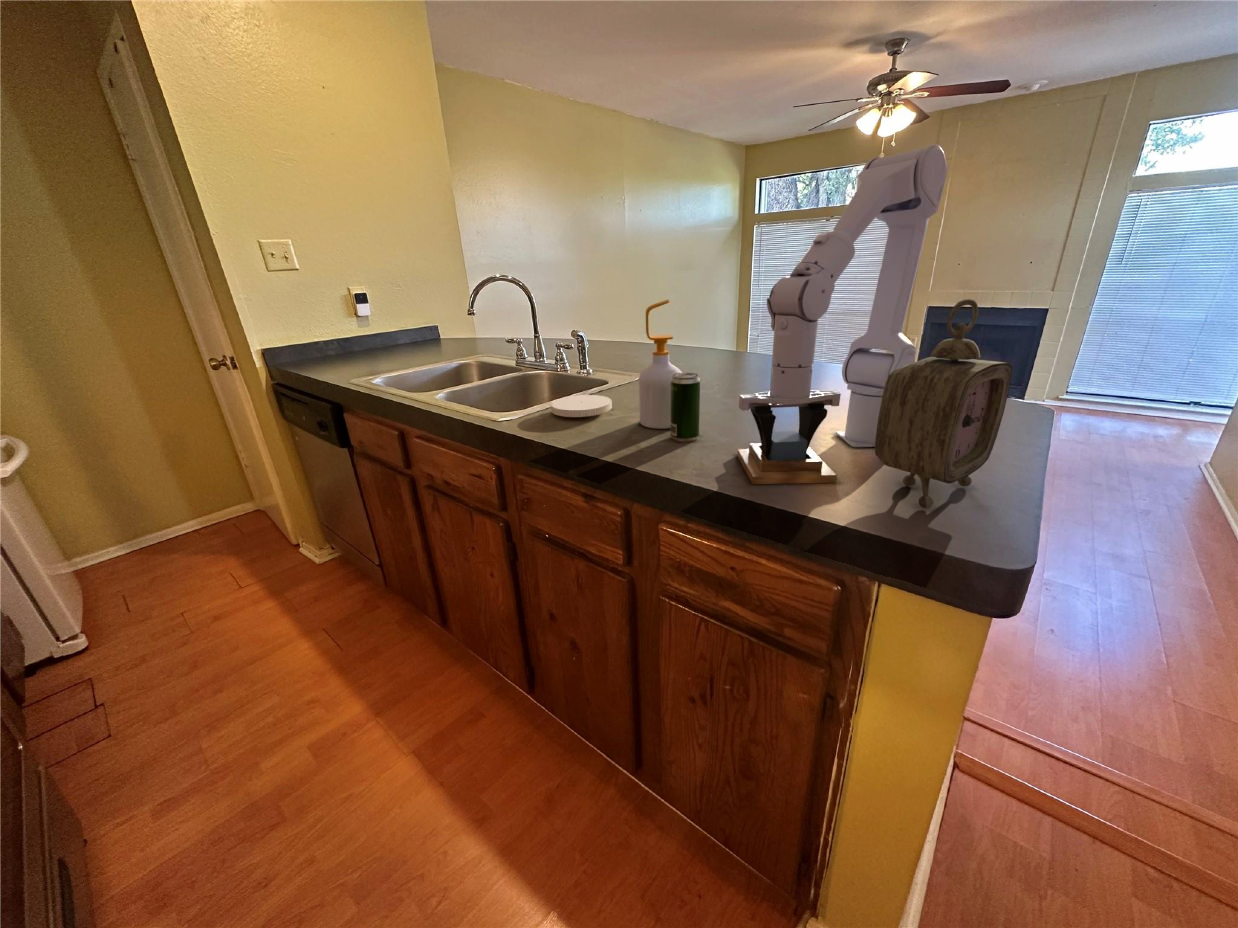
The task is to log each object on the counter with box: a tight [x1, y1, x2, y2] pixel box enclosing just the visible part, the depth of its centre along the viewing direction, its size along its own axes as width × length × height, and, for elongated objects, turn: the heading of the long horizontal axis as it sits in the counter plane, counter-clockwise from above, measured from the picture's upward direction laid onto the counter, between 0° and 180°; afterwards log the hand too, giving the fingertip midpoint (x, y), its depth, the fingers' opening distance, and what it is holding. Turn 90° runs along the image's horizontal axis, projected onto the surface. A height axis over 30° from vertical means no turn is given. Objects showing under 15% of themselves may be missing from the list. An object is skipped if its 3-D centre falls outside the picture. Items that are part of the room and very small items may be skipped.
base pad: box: [736, 442, 838, 485], centre depth 75 cm, size 12×12×3 cm
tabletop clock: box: [874, 298, 1013, 509], centre depth 61 cm, size 14×9×25 cm, turn 124°
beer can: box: [670, 372, 701, 443], centre depth 89 cm, size 5×5×12 cm
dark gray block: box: [764, 430, 808, 460], centre depth 74 cm, size 5×5×4 cm
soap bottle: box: [638, 298, 683, 430], centre depth 96 cm, size 9×9×25 cm
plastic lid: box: [550, 394, 613, 418], centre depth 110 cm, size 14×14×2 cm
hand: (784, 452), depth 74 cm, fingers closed on dark gray block, 5 cm apart
